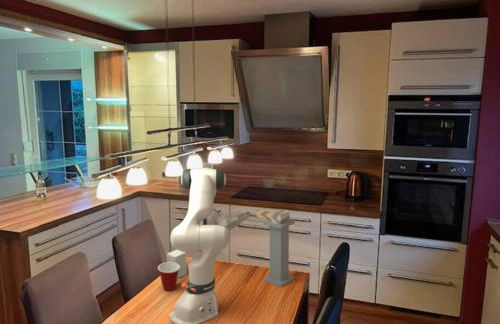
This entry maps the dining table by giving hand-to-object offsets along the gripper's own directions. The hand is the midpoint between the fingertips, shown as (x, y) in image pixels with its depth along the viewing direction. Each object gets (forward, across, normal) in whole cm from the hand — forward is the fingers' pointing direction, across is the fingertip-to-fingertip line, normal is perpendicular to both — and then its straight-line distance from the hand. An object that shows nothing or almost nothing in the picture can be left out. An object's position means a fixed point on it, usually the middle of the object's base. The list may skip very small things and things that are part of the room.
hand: (243, 214), depth 202 cm
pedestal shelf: (+6, 0, +38) cm, 39 cm away
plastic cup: (-27, -42, +20) cm, 54 cm away
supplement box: (-34, -30, +16) cm, 48 cm away
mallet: (+17, 0, +8) cm, 18 cm away
